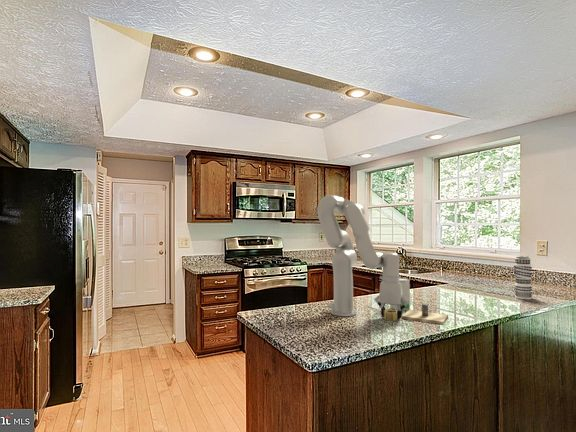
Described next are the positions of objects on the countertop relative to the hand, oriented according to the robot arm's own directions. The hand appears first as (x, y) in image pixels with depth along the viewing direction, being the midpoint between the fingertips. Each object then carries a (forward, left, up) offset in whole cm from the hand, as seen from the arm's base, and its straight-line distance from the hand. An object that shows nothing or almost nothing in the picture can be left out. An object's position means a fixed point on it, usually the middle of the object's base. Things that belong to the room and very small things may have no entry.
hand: (391, 317), depth 161 cm
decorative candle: (+53, +89, -1) cm, 104 cm away
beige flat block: (+13, +10, -1) cm, 16 cm away
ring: (0, 0, -1) cm, 1 cm away
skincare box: (-2, +22, -1) cm, 22 cm away
